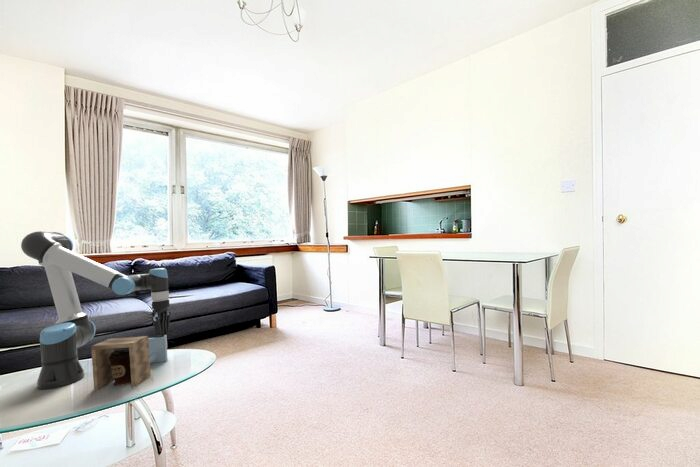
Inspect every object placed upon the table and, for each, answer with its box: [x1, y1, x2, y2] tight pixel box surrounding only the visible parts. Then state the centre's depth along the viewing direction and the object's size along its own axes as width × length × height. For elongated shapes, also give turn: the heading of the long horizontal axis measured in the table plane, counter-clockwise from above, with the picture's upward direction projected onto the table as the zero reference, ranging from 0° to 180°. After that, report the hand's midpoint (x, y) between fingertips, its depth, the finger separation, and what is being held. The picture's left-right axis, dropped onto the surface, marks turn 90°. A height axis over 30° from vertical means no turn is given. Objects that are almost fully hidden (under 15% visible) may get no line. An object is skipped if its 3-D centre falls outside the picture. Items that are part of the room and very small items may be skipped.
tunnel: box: [91, 335, 152, 390], centre depth 137 cm, size 10×16×17 cm, turn 90°
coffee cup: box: [109, 348, 131, 387], centre depth 137 cm, size 9×8×13 cm
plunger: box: [148, 336, 169, 364], centre depth 151 cm, size 18×11×11 cm, turn 0°
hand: (163, 348), depth 167 cm, fingers closed
